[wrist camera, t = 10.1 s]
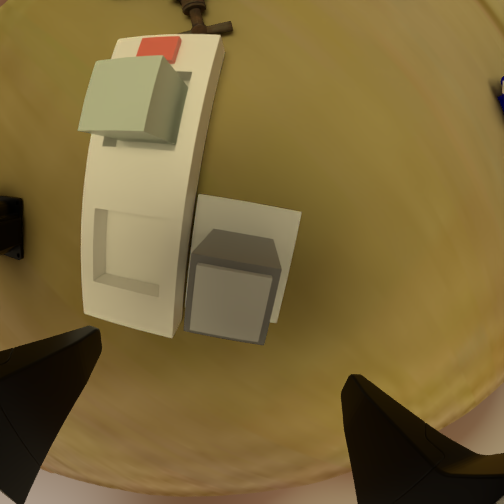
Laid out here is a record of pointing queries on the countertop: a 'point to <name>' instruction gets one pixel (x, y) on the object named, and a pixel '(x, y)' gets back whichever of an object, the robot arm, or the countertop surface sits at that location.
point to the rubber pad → (249, 229)
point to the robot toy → (503, 97)
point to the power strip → (147, 198)
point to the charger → (232, 286)
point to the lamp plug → (134, 100)
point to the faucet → (193, 8)
